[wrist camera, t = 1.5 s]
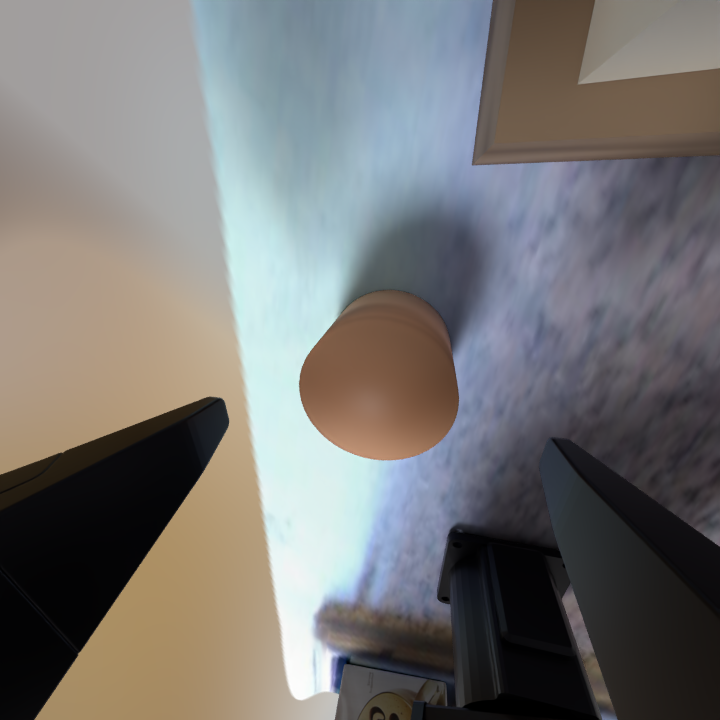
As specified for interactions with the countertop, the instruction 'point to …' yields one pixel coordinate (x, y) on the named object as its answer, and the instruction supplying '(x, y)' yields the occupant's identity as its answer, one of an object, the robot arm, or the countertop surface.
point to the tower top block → (650, 39)
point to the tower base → (581, 96)
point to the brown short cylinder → (382, 378)
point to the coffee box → (384, 694)
